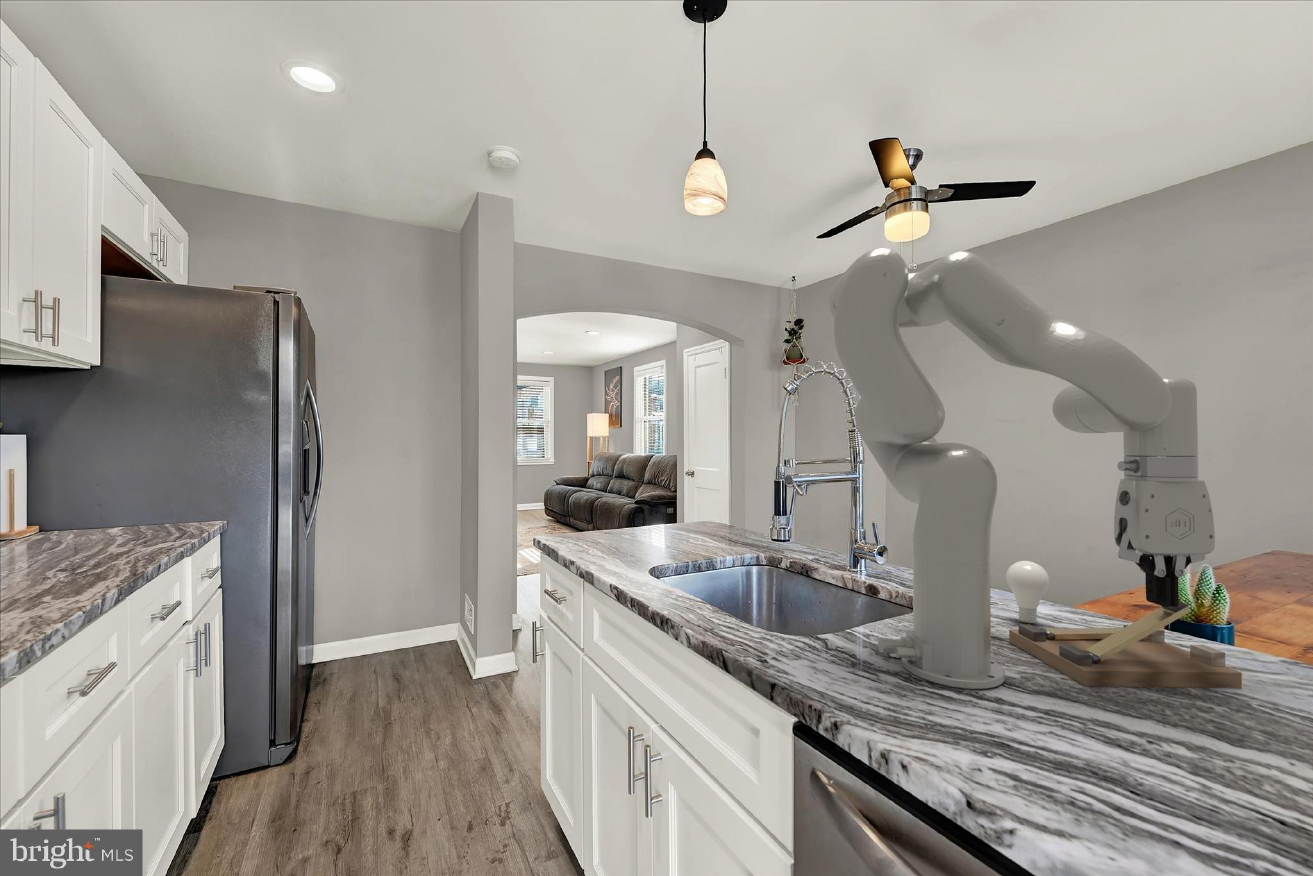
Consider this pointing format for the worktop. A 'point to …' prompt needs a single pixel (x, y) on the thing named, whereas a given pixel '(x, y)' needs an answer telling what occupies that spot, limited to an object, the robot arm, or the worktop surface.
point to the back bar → (1081, 633)
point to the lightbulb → (1027, 587)
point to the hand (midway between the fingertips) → (1162, 603)
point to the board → (1131, 662)
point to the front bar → (1136, 631)
